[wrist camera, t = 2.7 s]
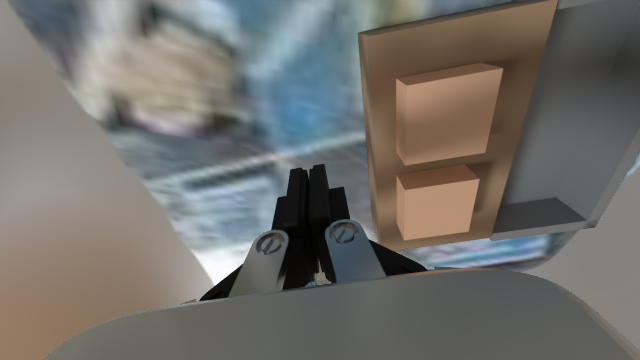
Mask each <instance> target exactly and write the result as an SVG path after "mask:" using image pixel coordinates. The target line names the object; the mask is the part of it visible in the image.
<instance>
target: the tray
mask: <svg viewBox="0 0 640 360" xmlns="http://www.w3.org/2000/svg"><path fill="white" fill-rule="evenodd" d="M523 1H535V0H512V2H523ZM639 152H640V0H558V3H557V6H556V10H555V13H554V17H553V20H552V24H551V27H550V31H549V34H548V38H547V41H546V45H545V48H544V52H543V55H542V59H541V62H540V66H539V69H538V73H537V76H536V80H535V83H534V87H533V90H532V94H531V97H530V101H529V104H528V108H527V111H526V115H525V118H524V122H523V125H522V129H521V132H520V136H519V139H518V143H517V146H516V150H515V153H514V157H513V160H512V164H511V167H510V171H509V174H508V178H507V181H506V185H505V188H504V192H503V195H502V199H501V202H500V206H499V209H498V213H497V216H496V220H495V223H494V227H493V230H492V234H491V237H490V238H489V239H490V240H491V241H497V240H504V239H512V238H519V237H526V236H534V235H541V234H549V233H556V232H564V231H571V230H579V229H586V228H594V227H595V226H596V225H597V223H598V221H599V220H600V218H601V216H602V214H603V213H604V211H605V210H606V208H607V206H608V205H609V203H610V201H611V199H612V198H613V196H614V194H615V193H616V191H617V189H618V188H619V186H620V184H621V183H622V181H623V179H624V177H625V176H626V174H627V172H628V171H629V169H630V167H631V166H632V164H633V162H634V161H635V159H636V157H637V155H638V154H639Z"/></svg>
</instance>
